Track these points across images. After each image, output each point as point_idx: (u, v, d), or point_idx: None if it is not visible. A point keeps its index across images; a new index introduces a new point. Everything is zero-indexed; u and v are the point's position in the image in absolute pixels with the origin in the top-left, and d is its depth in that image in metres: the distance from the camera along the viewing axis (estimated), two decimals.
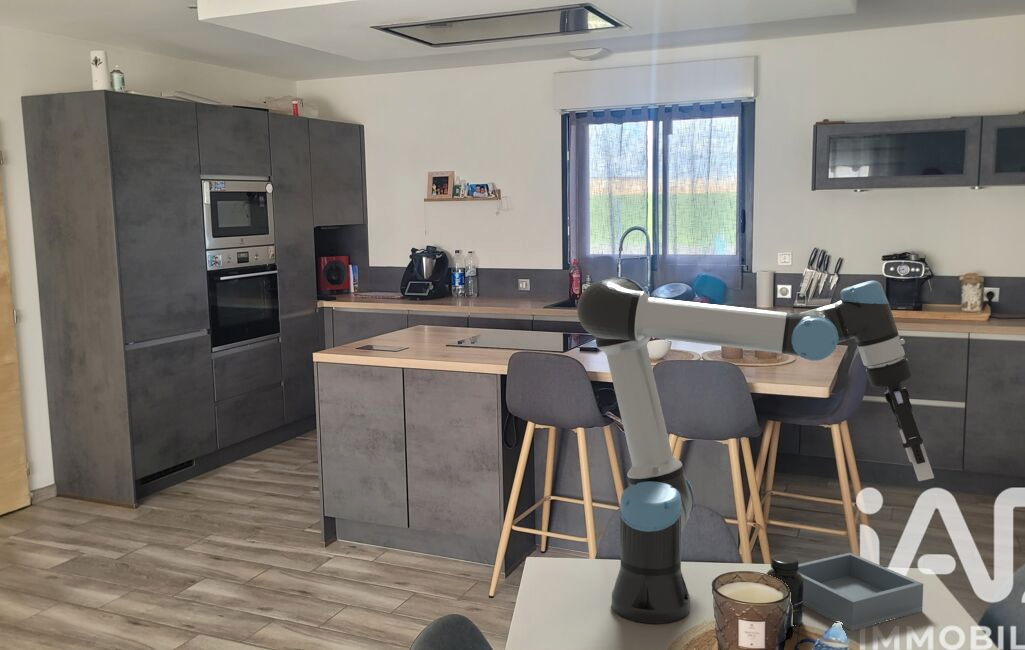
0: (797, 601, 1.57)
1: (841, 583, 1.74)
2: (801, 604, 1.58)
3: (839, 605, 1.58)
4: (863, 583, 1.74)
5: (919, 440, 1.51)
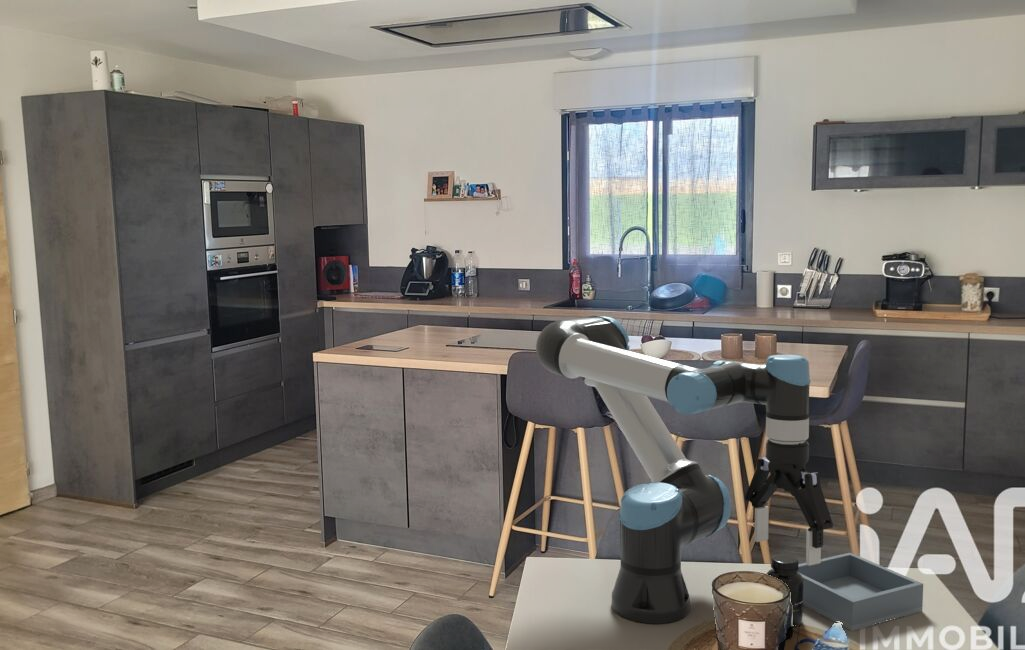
0: (797, 601, 1.57)
1: (841, 583, 1.74)
2: (801, 604, 1.58)
3: (839, 605, 1.58)
4: (863, 583, 1.74)
5: (831, 525, 1.49)
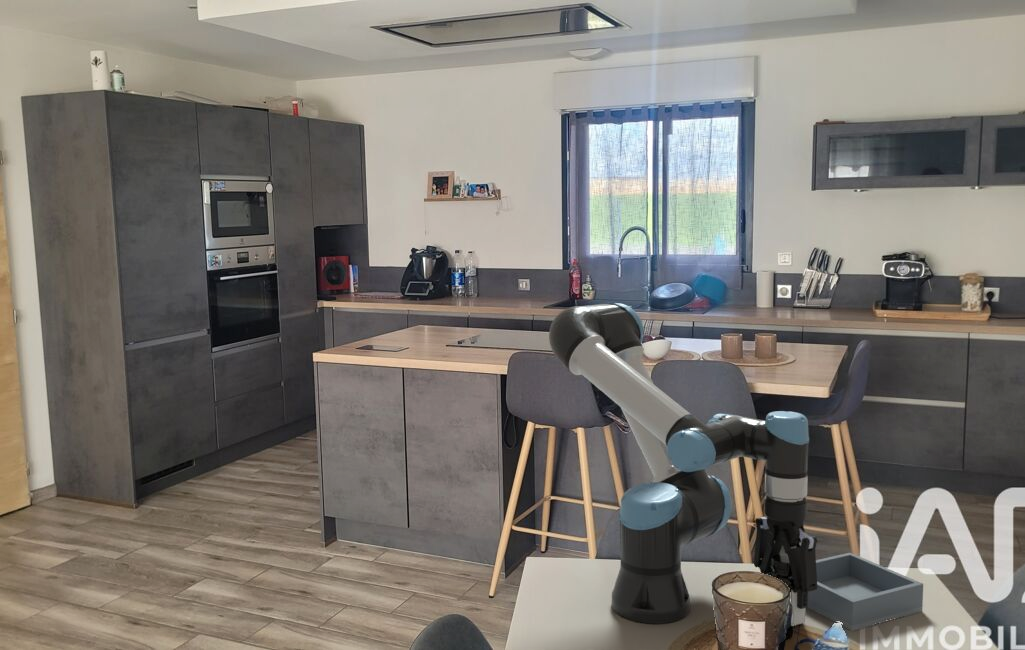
0: None
1: (841, 583, 1.74)
2: None
3: (839, 605, 1.58)
4: (863, 583, 1.74)
5: (815, 588, 1.54)
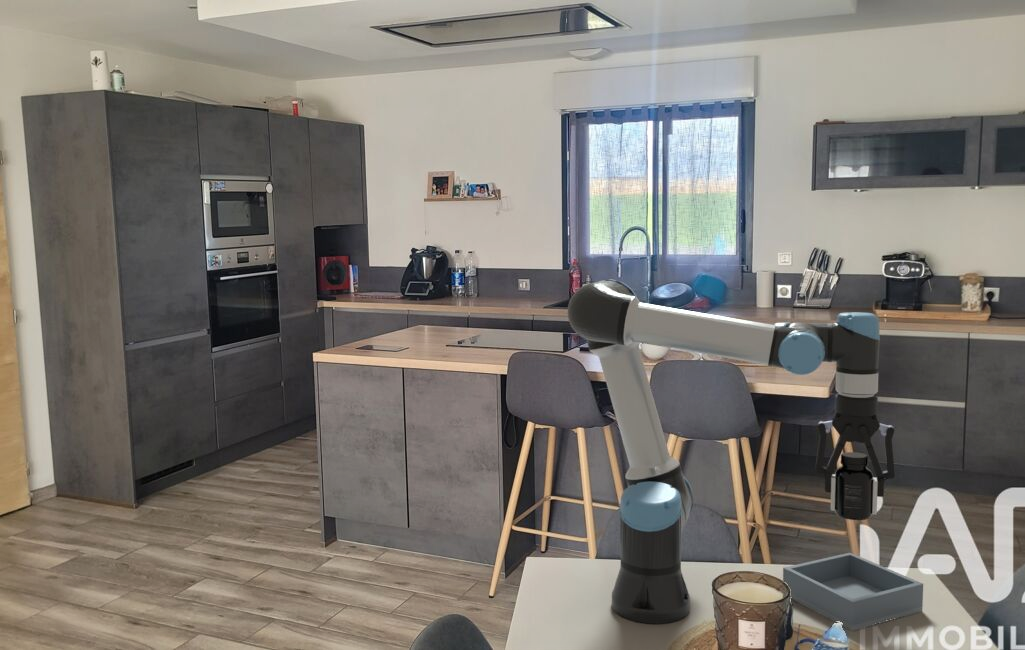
0: None
1: (841, 583, 1.74)
2: None
3: (839, 605, 1.58)
4: (863, 583, 1.74)
5: None
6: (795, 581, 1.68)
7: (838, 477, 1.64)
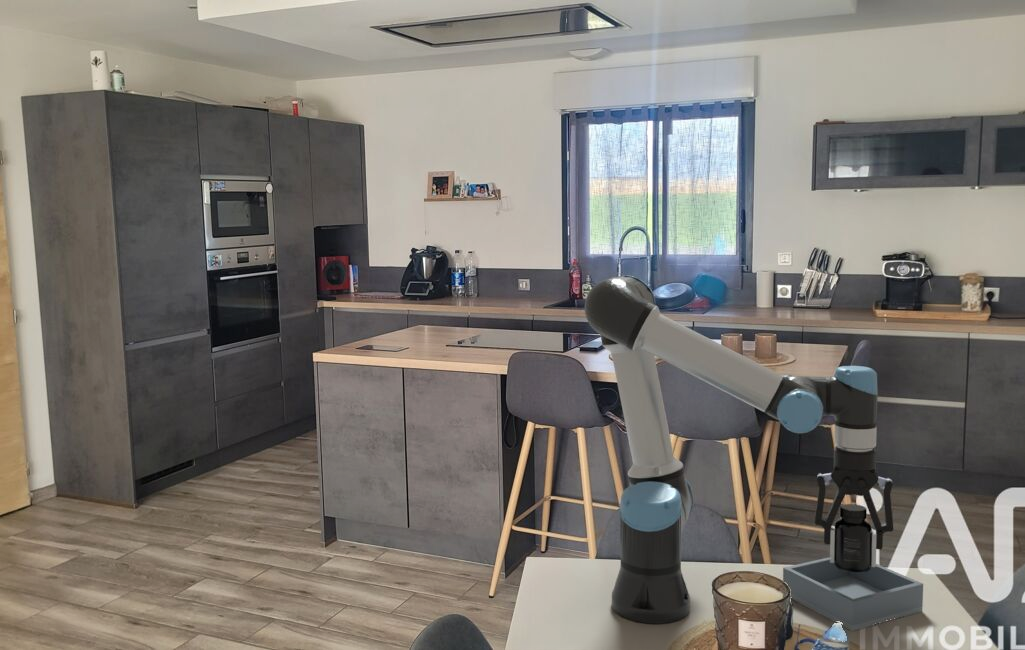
0: None
1: (841, 583, 1.74)
2: None
3: (839, 605, 1.58)
4: (863, 583, 1.74)
5: None
6: (795, 581, 1.68)
7: (837, 529, 1.65)
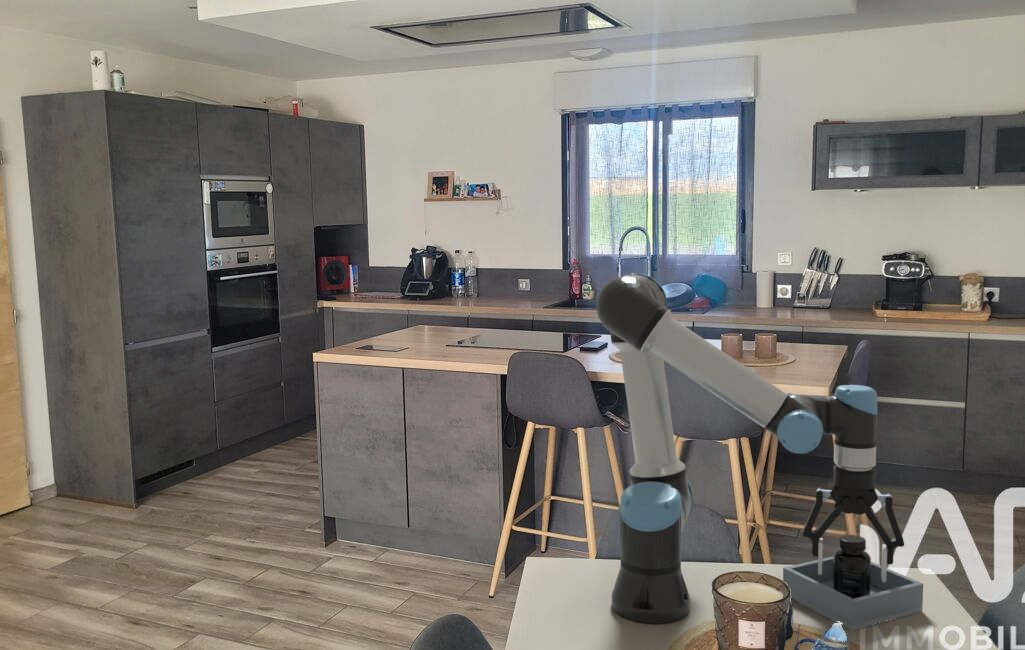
0: (870, 575, 1.66)
1: None
2: None
3: (839, 605, 1.58)
4: None
5: (903, 540, 1.64)
6: (795, 581, 1.68)
7: (836, 560, 1.66)
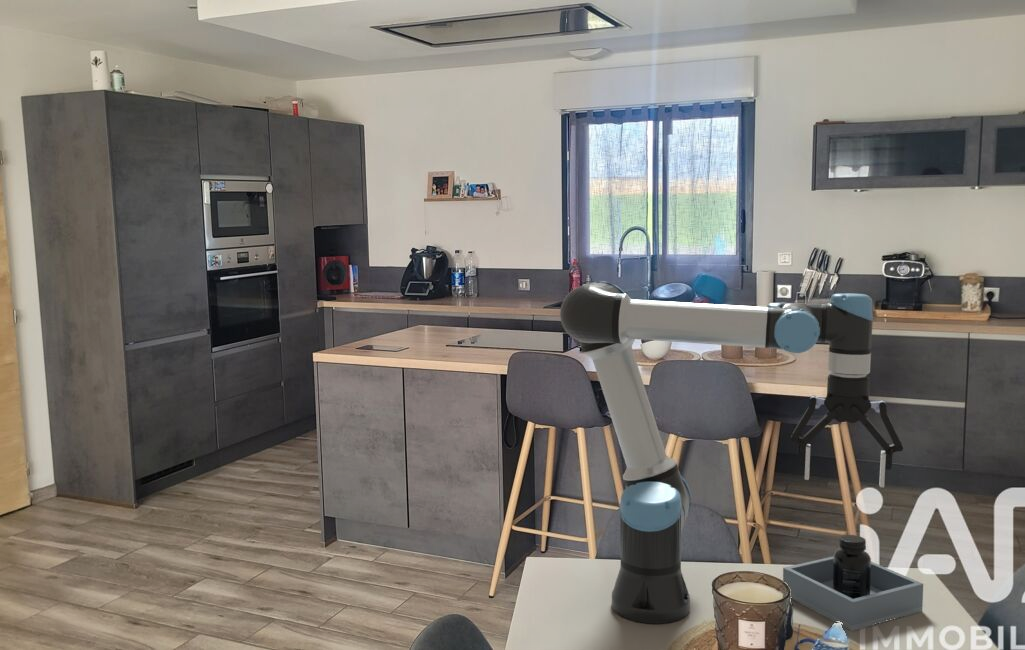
0: (870, 575, 1.66)
1: None
2: None
3: (839, 605, 1.58)
4: None
5: None
6: (795, 581, 1.68)
7: (836, 560, 1.66)
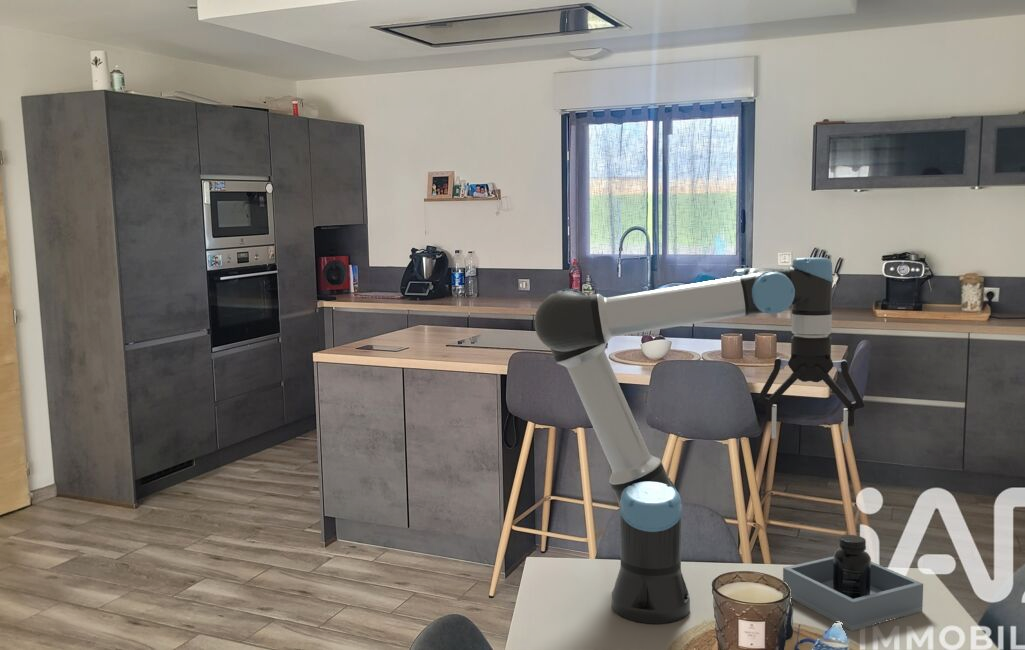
0: (870, 575, 1.66)
1: None
2: None
3: (839, 605, 1.58)
4: None
5: (863, 402, 1.69)
6: (795, 581, 1.68)
7: (836, 560, 1.66)
